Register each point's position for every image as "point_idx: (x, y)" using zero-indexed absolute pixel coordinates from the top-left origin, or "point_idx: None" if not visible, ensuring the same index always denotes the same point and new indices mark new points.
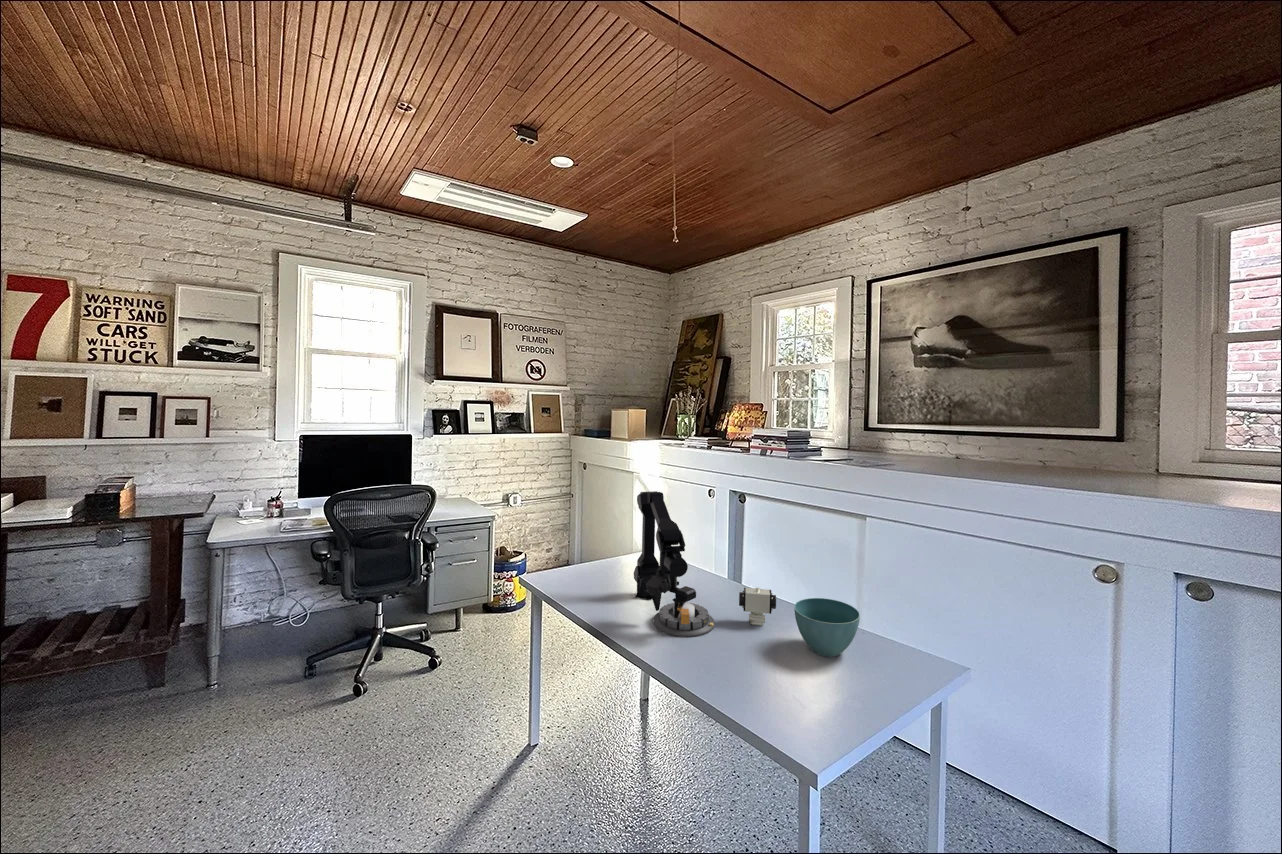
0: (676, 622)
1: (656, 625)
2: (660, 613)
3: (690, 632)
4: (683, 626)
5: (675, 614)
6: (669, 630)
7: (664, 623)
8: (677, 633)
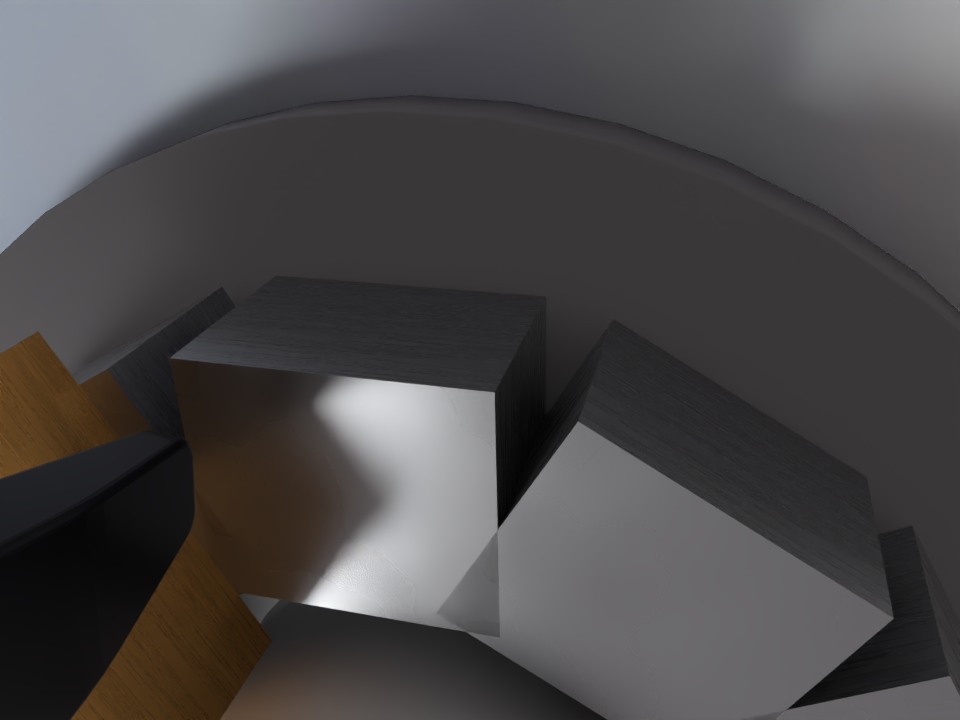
0: (189, 358)
1: (897, 284)
2: (923, 705)
3: (40, 332)
4: (101, 365)
5: (36, 483)
6: (432, 190)
7: (649, 369)
8: (193, 143)
